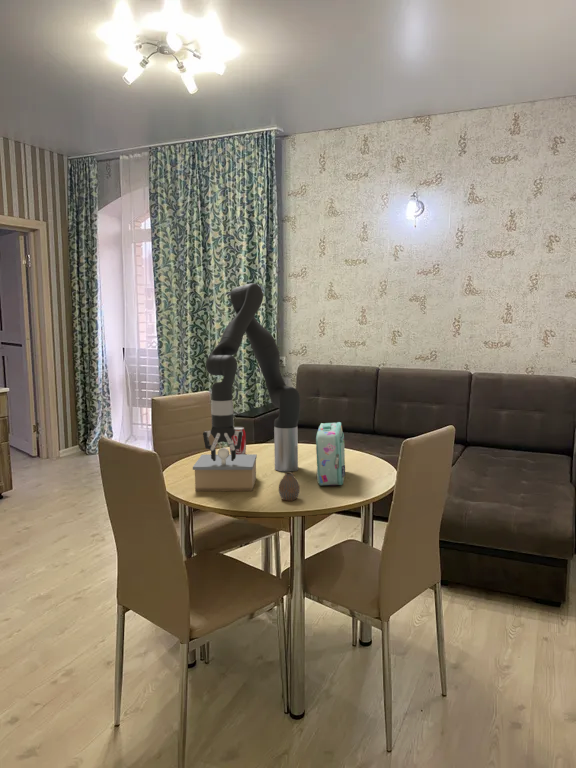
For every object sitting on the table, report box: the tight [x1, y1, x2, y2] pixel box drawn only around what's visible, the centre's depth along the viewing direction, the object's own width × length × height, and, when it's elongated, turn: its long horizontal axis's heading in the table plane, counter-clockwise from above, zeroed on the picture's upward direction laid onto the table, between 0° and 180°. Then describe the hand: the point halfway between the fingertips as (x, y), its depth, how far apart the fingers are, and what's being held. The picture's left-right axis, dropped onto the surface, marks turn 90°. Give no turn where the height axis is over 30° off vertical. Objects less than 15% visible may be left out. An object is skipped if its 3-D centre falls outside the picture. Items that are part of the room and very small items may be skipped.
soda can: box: [229, 426, 247, 455], centre depth 248 cm, size 7×7×12 cm
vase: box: [278, 472, 300, 502], centre depth 186 cm, size 7×7×9 cm
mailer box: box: [194, 460, 257, 492], centre depth 204 cm, size 20×16×8 cm
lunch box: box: [315, 421, 346, 486], centre depth 208 cm, size 27×10×21 cm, turn 175°
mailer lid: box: [192, 447, 258, 471], centre depth 202 cm, size 21×18×7 cm
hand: (223, 460), depth 196 cm, fingers open, 5 cm apart
